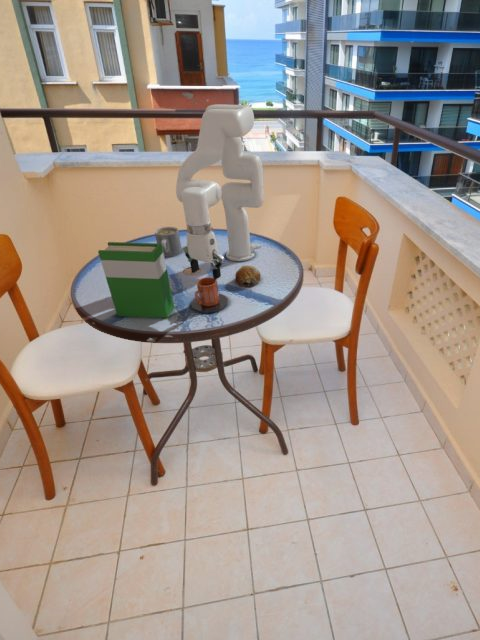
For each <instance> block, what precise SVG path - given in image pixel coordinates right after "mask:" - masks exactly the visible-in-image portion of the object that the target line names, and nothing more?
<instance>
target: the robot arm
mask: <svg viewBox="0 0 480 640" xmlns="http://www.w3.org/2000/svg"><path fill="white" fill-rule="evenodd" d="M254 125H255V115H254V111H253V109H252V107H251V106H249V105H248V104H225V103H223V104H221V103H217V104H210V105H208V106H207V107H206V108H205V111H204V112H203V114H202V117H201V123H200V127H199V134H198V139H197V144H196V149H195V150H194V151H193V152H191V154H189V156H187V157H186V159H185V160H184V161H183V162H182V164H181V165H180V167H179V169H178V172H177V179H176V184H175V185H176V186H175V187H176V188H175V195H176V197H177V199H178V201H179V202H180V203H182V207H183V213H184V217H185V218H184V219H185V224H186V245H185V246H183V247H182V252H184V256H185V257H186V258H187V261H188V262H189V265H190V270H191V273H192V274H195V273H197V272H198V271H200V266H199V265H200V264H199V262H203V263H207V264H210V265H211V267H212V270H211V273H212V278H213V279H214V280H218V279H219V278H221V276H222V273H221V267H222V265H223V264H224V262H225V259H227V260H229V261H232V262H245V261H249V260H252V259H253V258H254V257H255V255H256V254H255V251H256V250H260V249H262V245H261V244H256V243H251V234H250V233H251V232H250V221H249V215H248V212H247V210H246V209H245V208H248V209H249V208H250V209H253V208H255V209H257V208H261V207H262V206H263V204H264V203H265V187H264V185H265V184H264V183H265V182H264V168H263V161H262V158H261V157H260V156H259V155H258V154H254V153H245V152H244V151H243V140H242V138H243V137H245V136H246V135H248V134H249V133H250V132H251V131H252V129H253V128H254ZM220 161H221V170H222V171H221V172H222V174H223V176H224V177H225V178H226V179H230V180H239V181H229V182H225V183H224V184H223V185H222V186H221V185H220V184H219V183H217V182H216V181H213V180H201V179H198V180H197V179H193V177H194V175H195V174H196V173H198V172H199V171H201V170H203V169H205V168H208V167H210V166H212V165H214V164H217V163H219V162H220ZM241 180H243V181H244V180H245V181H249V182H241ZM220 201H221V202H222V205H223V210H224V216H225V225H226V233H227V234H226V235H227V243H228V250H227V251H226V252H225V256H223V255H222V254H221V253H220V249H219V246H218V241H217V238H216V235H215V232H214V231H213V230H214V228H213V227H212V226H211V218H210V211H209V208H211V207H213V206H215V205H217V204H218V203H219V202H220Z"/></svg>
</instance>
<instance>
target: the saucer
mask: <svg viewBox="0 0 480 640" xmlns="http://www.w3.org/2000/svg"><path fill="white" fill-rule="evenodd" d="M198 299H199V295H198ZM199 301H200V300H199ZM190 304H191V305H190V306H191V308H192V310H194V311H195V312H197V313H200V314H214V313H217V312H220V311H223V310H224V309H226V308H227V307H228V305H229V299H228V297H227V296H226V295H224V294H222V293H219V303H218V304H216V305H213V306H203V305H201V304H200V305H197V303H196V297H195V298H194V299H192V301H191V303H190Z"/></svg>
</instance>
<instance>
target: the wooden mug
mask: <svg viewBox="0 0 480 640" xmlns="http://www.w3.org/2000/svg"><path fill="white" fill-rule="evenodd" d="M196 287H197V290H196V291H194V297H195V298H196V303H197V305H200V304H201V305H203V306H213V305H216V304H218V303H219V294H220V293H219V286H218V279H216V280H214V279H213V276H206V277H202V278H200V279H198V280H197V281H196ZM198 296H199V299H198ZM199 300H200V301H199Z"/></svg>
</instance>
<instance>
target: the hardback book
mask: <svg viewBox="0 0 480 640" xmlns="http://www.w3.org/2000/svg"><path fill="white" fill-rule="evenodd" d="M97 252H98V253H97V254H98V257H99V259H100V262H101V266H102V270H103V273H104V277H105V280H106V283H107V285H108V289H109V292H110V296H111V298H112V303H113V306H114V309H115V312H116V316H117V317H133V318H134V317H135V318H155V319H156V318H157V319H159V318H160V319H161V318H162V319H168V318H169V316H170V315H171V313H172V312H173V310H174V308H175V303H174V299H173V293H172V288H171V283H170V279H169V273H168V269H167V263H166V259H165V258H166V257H165V256H164V253H163V248H162V244H157V242H156V243H153V242H121V241H120V242H119V241H118V242H117V241H108V242H107V247H106V248H104V249H99V250H97Z"/></svg>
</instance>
